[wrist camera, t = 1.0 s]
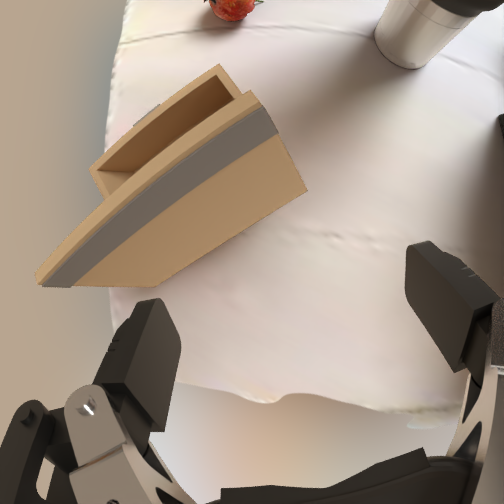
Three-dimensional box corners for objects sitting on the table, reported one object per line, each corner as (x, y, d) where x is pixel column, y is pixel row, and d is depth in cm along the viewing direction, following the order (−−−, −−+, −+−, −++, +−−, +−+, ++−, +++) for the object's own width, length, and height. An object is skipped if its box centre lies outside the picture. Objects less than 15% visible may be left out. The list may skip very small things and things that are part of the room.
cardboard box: (300, 184, 39) (302, 182, 29) (181, 260, 43) (151, 279, 34) (236, 89, 37) (218, 62, 28) (127, 170, 42) (87, 167, 32)
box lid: (302, 182, 29) (308, 191, 29) (151, 279, 34) (154, 288, 33) (251, 89, 14) (261, 102, 14) (34, 273, 19) (37, 286, 18)
